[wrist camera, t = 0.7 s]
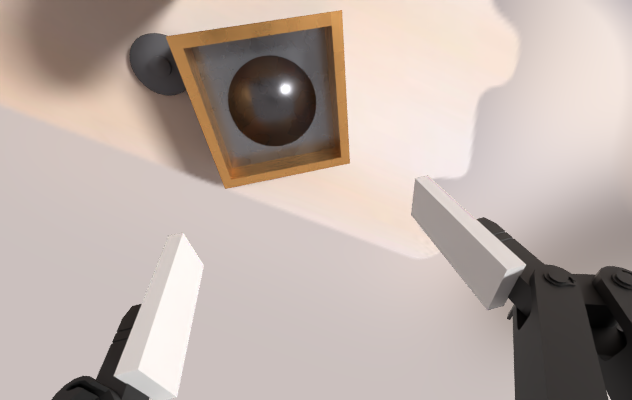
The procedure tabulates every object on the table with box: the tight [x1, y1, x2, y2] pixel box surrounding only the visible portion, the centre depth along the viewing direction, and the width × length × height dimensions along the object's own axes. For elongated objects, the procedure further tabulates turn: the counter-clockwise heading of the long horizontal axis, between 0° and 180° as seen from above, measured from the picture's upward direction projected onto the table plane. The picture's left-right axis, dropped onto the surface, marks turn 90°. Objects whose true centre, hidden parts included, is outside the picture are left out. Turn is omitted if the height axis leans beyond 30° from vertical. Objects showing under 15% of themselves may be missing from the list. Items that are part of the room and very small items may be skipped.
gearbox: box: [166, 10, 350, 189], centre depth 29 cm, size 15×15×8 cm
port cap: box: [130, 33, 186, 95], centre depth 28 cm, size 6×6×2 cm
